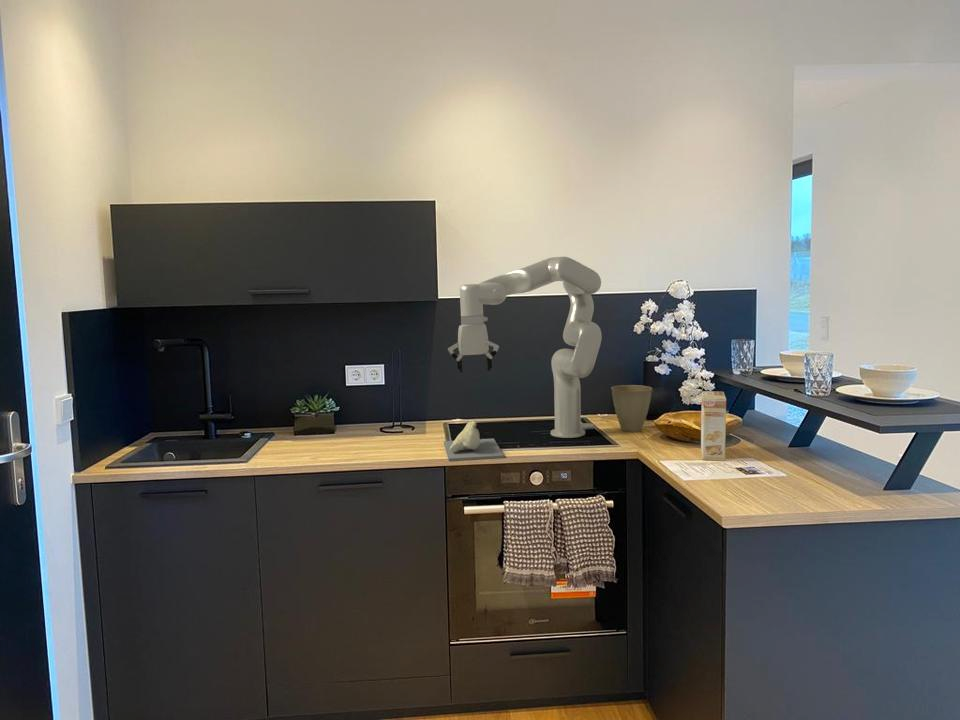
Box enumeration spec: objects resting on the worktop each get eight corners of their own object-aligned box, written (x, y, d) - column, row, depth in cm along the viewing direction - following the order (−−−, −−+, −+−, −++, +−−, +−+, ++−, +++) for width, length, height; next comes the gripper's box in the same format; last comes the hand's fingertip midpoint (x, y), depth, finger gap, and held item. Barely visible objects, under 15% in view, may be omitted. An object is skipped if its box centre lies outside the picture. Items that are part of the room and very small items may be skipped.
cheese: (469, 462, 225) (497, 428, 230) (453, 447, 224) (482, 413, 229) (456, 465, 239) (483, 433, 244) (440, 451, 238) (468, 419, 243)
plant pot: (657, 433, 253) (657, 390, 251) (617, 435, 252) (617, 391, 250) (645, 424, 268) (645, 383, 266) (607, 426, 267) (606, 385, 265)
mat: (493, 440, 249) (493, 438, 249) (504, 457, 225) (504, 455, 225) (443, 443, 247) (443, 441, 246) (448, 461, 223) (448, 458, 223)
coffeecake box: (726, 461, 214) (727, 399, 211) (701, 460, 216) (702, 398, 213) (723, 449, 228) (724, 390, 226) (700, 448, 230) (701, 390, 228)
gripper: (495, 318, 238) (497, 368, 240) (445, 321, 236) (448, 371, 238) (499, 320, 230) (501, 371, 233) (447, 323, 228) (450, 374, 230)
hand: (474, 371), depth 235 cm, fingers open, 9 cm apart
